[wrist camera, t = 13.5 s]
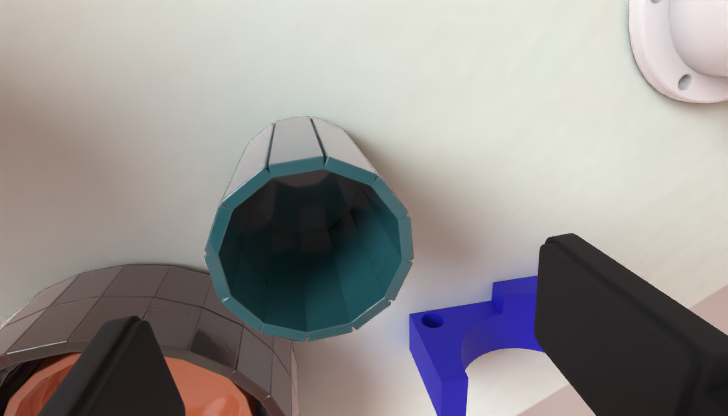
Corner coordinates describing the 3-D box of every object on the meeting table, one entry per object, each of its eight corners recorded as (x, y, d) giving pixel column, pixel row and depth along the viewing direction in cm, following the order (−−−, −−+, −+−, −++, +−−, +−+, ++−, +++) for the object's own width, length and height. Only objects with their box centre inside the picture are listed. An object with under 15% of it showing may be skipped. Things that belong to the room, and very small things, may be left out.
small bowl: (232, 280, 23) (222, 323, 19) (275, 423, 27) (273, 480, 24) (7, 325, 21) (-52, 381, 17) (94, 468, 26) (62, 536, 22)
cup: (357, 107, 20) (404, 142, 12) (371, 224, 23) (418, 317, 15) (224, 127, 19) (178, 179, 11) (255, 246, 22) (236, 358, 14)
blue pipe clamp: (571, 270, 27) (643, 324, 22) (562, 321, 29) (626, 383, 23) (409, 295, 25) (442, 361, 20) (409, 348, 27) (440, 423, 22)
